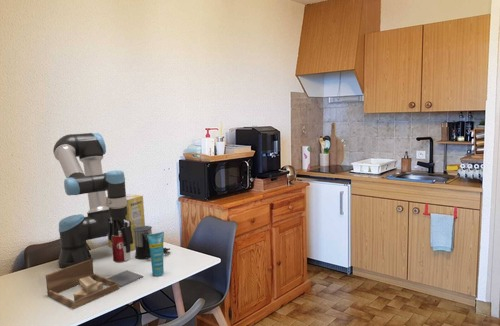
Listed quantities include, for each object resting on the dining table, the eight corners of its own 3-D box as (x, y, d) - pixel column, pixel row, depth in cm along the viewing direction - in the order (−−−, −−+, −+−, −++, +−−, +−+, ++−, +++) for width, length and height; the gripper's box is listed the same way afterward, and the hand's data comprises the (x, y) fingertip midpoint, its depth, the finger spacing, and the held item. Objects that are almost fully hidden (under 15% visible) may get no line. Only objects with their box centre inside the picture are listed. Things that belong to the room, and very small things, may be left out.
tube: (152, 277, 174) (149, 236, 172) (148, 274, 178) (145, 233, 176) (168, 273, 178) (165, 232, 176) (164, 270, 182) (161, 230, 180)
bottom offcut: (74, 302, 154) (73, 294, 154) (92, 289, 166) (91, 281, 165) (85, 303, 153) (84, 295, 153) (103, 289, 165) (102, 282, 164)
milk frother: (131, 256, 201) (129, 228, 200) (157, 248, 213) (155, 221, 211) (147, 262, 192) (145, 233, 190) (173, 253, 204) (172, 225, 202)
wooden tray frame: (47, 295, 160) (45, 274, 159) (92, 278, 176) (90, 259, 175) (74, 309, 148) (71, 286, 147) (119, 288, 164) (117, 268, 163)
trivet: (103, 281, 173) (103, 279, 172) (126, 271, 182) (126, 270, 182) (120, 287, 165) (120, 285, 165) (143, 277, 175) (143, 275, 175)
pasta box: (108, 246, 219) (104, 197, 215) (123, 240, 228) (119, 193, 224) (132, 251, 210) (128, 199, 206) (146, 245, 219) (142, 195, 215)
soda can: (109, 261, 171) (107, 234, 170) (123, 256, 177) (120, 230, 176) (121, 264, 167) (118, 237, 166) (134, 258, 174) (132, 232, 172)
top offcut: (87, 293, 154) (86, 285, 154) (80, 286, 161) (79, 279, 161) (97, 289, 157) (96, 282, 157) (89, 283, 164) (89, 276, 163)
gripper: (96, 206, 173) (101, 256, 175) (124, 211, 161) (129, 265, 163) (111, 202, 179) (115, 251, 181) (139, 207, 167) (143, 259, 169)
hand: (122, 257), depth 172 cm, fingers closed on soda can, 7 cm apart
